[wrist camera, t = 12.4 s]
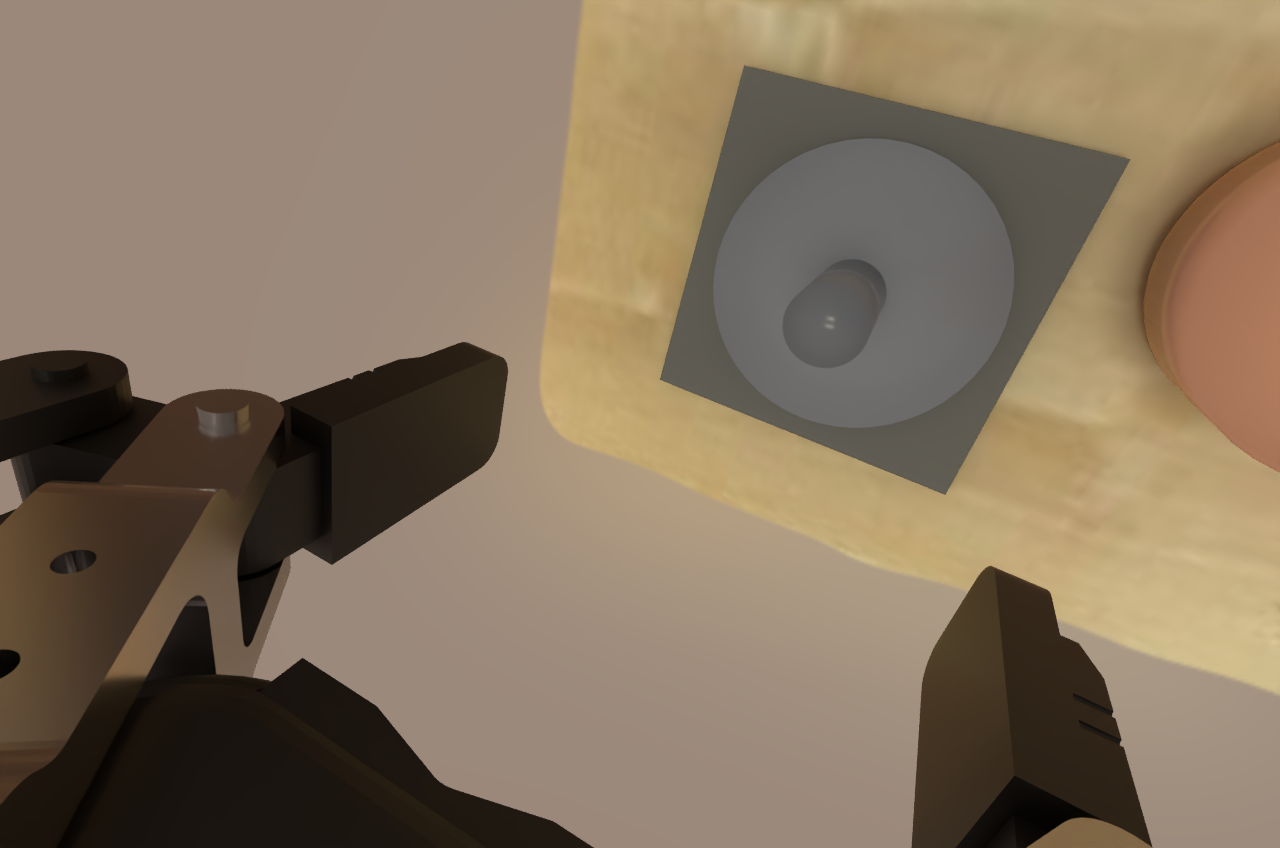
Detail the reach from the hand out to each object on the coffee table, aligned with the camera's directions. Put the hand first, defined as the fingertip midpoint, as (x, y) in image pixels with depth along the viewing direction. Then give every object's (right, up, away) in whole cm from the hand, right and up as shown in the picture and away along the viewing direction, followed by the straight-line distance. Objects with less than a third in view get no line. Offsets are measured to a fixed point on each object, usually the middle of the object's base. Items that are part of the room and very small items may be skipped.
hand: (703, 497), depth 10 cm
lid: (+8, +7, +17) cm, 19 cm away
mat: (+8, +7, +17) cm, 20 cm away
